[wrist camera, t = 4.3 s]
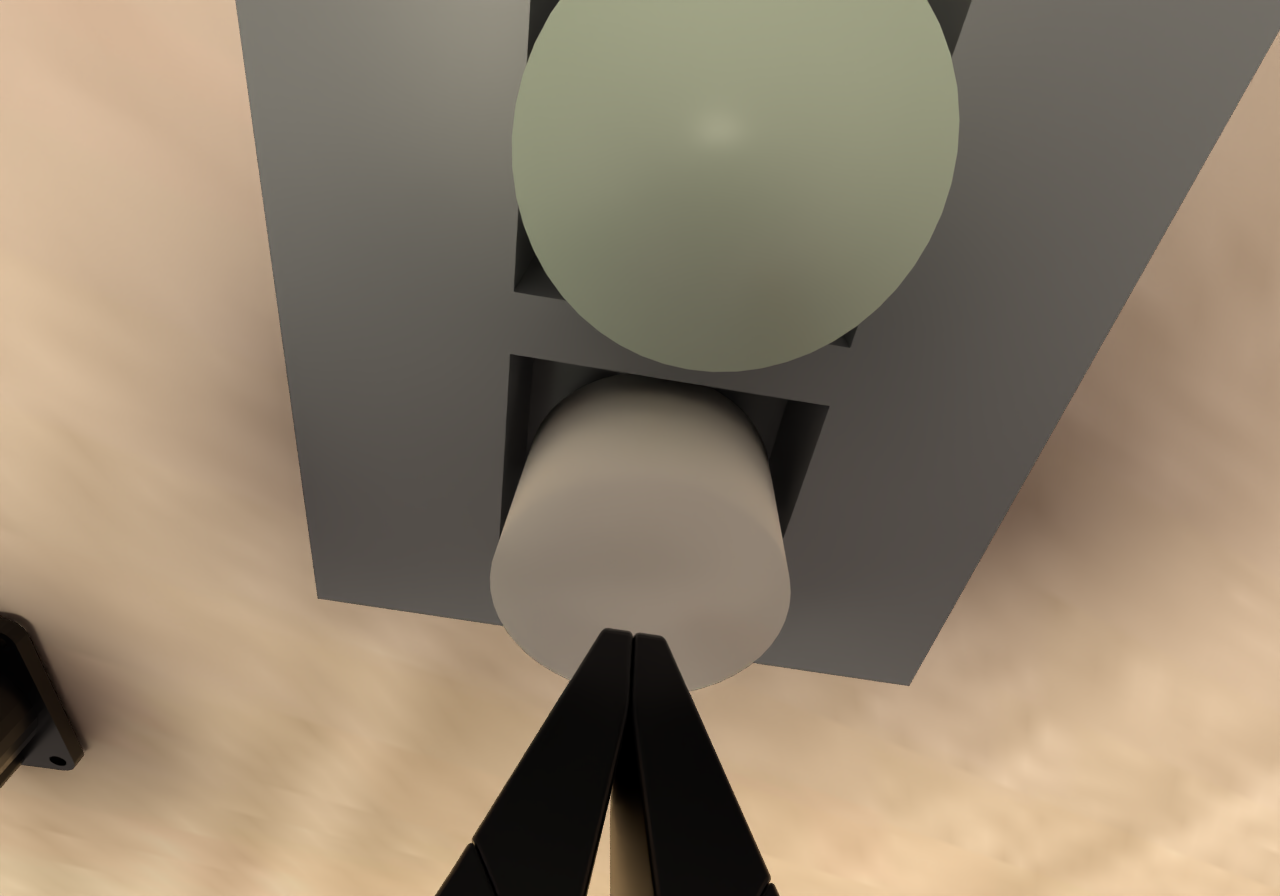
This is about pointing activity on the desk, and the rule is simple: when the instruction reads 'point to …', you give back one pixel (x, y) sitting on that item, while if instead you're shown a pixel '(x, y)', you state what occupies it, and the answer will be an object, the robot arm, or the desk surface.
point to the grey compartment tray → (770, 397)
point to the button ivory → (644, 530)
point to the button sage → (733, 168)
